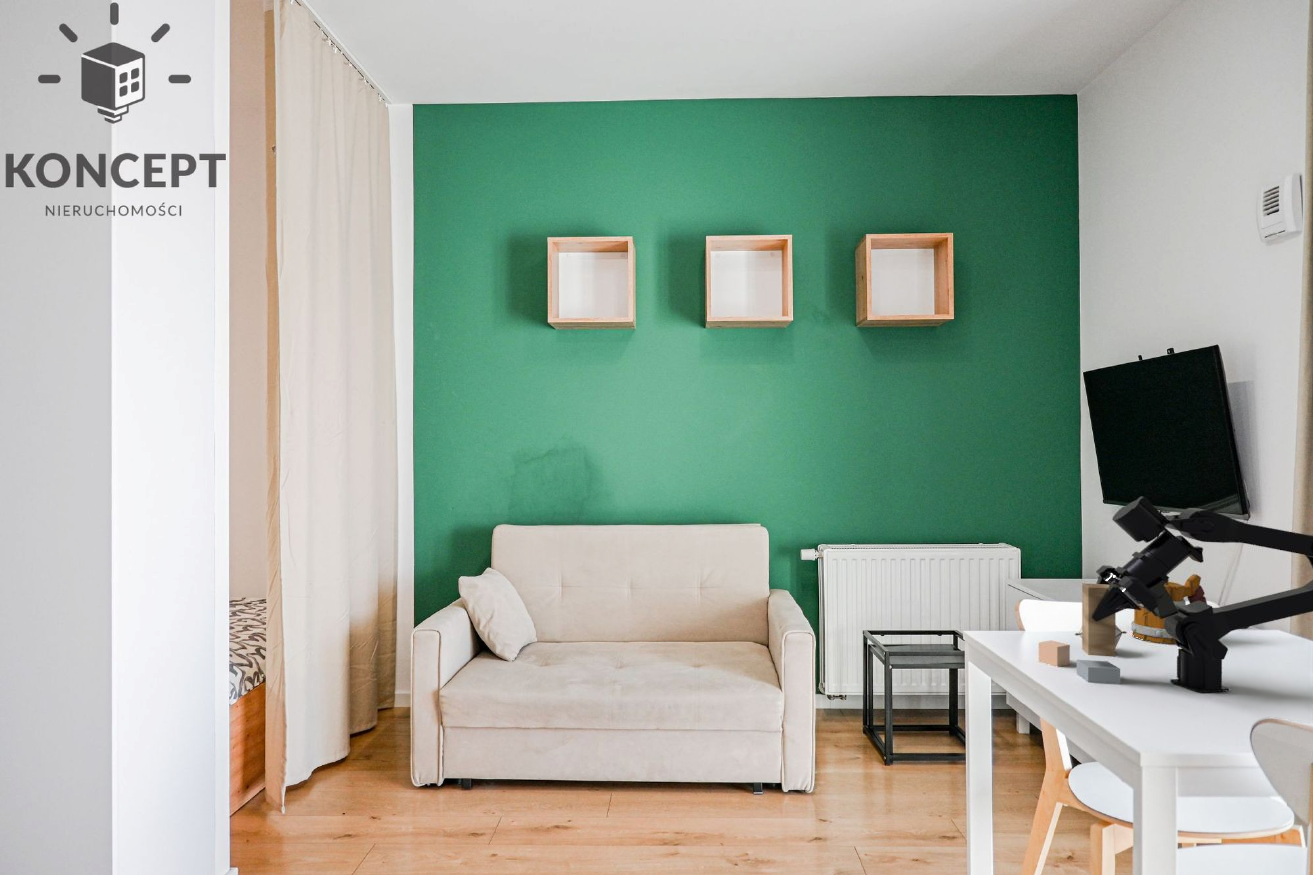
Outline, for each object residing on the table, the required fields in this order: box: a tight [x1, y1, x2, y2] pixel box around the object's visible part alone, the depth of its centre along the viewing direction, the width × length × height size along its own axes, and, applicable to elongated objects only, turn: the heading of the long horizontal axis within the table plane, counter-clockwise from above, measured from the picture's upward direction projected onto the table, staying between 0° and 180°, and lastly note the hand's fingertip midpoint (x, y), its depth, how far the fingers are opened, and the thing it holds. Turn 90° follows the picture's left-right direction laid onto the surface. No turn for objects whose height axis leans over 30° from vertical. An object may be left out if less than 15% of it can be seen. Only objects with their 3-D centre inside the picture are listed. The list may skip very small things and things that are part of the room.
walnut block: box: [1081, 582, 1117, 658], centre depth 147 cm, size 4×4×12 cm
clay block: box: [1038, 640, 1071, 667], centre depth 158 cm, size 4×4×4 cm
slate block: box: [1076, 659, 1121, 685], centre depth 147 cm, size 6×6×3 cm
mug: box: [1130, 573, 1208, 645], centre depth 180 cm, size 11×16×15 cm, turn 88°
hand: (1090, 617), depth 148 cm, fingers closed on walnut block, 4 cm apart
